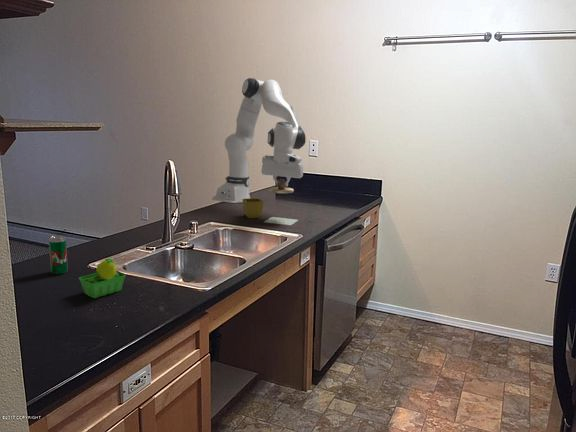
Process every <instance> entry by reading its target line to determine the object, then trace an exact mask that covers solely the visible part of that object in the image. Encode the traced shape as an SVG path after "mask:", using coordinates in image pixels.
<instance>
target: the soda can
mask: <svg viewBox="0 0 576 432" xmlns="http://www.w3.org/2000/svg"><path fill="white" fill-rule="evenodd" d="M48 249H49V260H50V261H49V263H50V273H51V274H52V275H55V276H56V275H58V276H60V275H65V274H66V273H67V272H68V271H69V266H68V265H69V264H68V250H67V249H68V248H67V239H66V238H65V236H64V235H53V236H50V237H49V240H48Z"/></svg>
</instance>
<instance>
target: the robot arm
mask: <svg viewBox="0 0 576 432" xmlns="http://www.w3.org/2000/svg"><path fill="white" fill-rule="evenodd" d="M241 92H242V94H243V99H242V101H241V104H240V107H239V110H238V113H237V116H236V126H235V127H236V129H235V133H231V134H230V135H228V136H227V137H226V138H225V140H224V148H225V149H226V152H227V157H228V163H229V165H228V167H229V169H228V171H229V172H228V173H229V175H228V176H226V177H225V178H224V179H225V181H226V182H225V183H223V184H222V185H221V186H219V187H218V188H217V190H216V192H215V195H214V196H213V197H211V198H212V199H211V200H212V201H218V202H223V203H224V202H225V203H230V204H236V203H243V200H242V199H247V198H251V196H250V189H249V187H250V176H249V171H250V170H249V166H250V165H249V161H248V159H247V151H249V150H250V149H251V148H252V147H253V145H254V134H255V128H256V124H257V122H258V118H259V114H260V111H261V108H263V109H264V111H265V112H266V113H267V114H269V115H271V116H273V117H278V118H281V119H283V120H285V121H278V122H276V123H275V127H273V128H271V129H269V131H268V132H267V144H268V145H269V146H270V147H271V148H273V155H267V154H266V155H264V156H262V158H261V162H262V165H261V174H262V175H264V176H272V179H273V181H274V185H275V186H278V179H277V178H278V177H284V178H286V180H285V182H284V186H285V187H288V186H289V182H290V180H291V178H294V179H302V177H303V176H304V166H303V163H302V161H303V158H302V157H301V156H300V155H297V154H295V153H293V149H294V150H300V149H301V148H302V147H304V146H305V144H306V139H307V137H306V133H305V131H304V130H303V128H302V126H301V125H300V122H299V120H298V118H297V115H296V113H295V111H294V109H293V107H292V105H290V104H289V103H288V102H287V101H286V100H285V98H284V96H283V92H282V89H281V86H280V84H279V82H278V81H277V80H275V79H266V80H265V81H263V80H260V79H256V78H252V77H248V78H247V79H244V81H243V84H242V87H241Z"/></svg>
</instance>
